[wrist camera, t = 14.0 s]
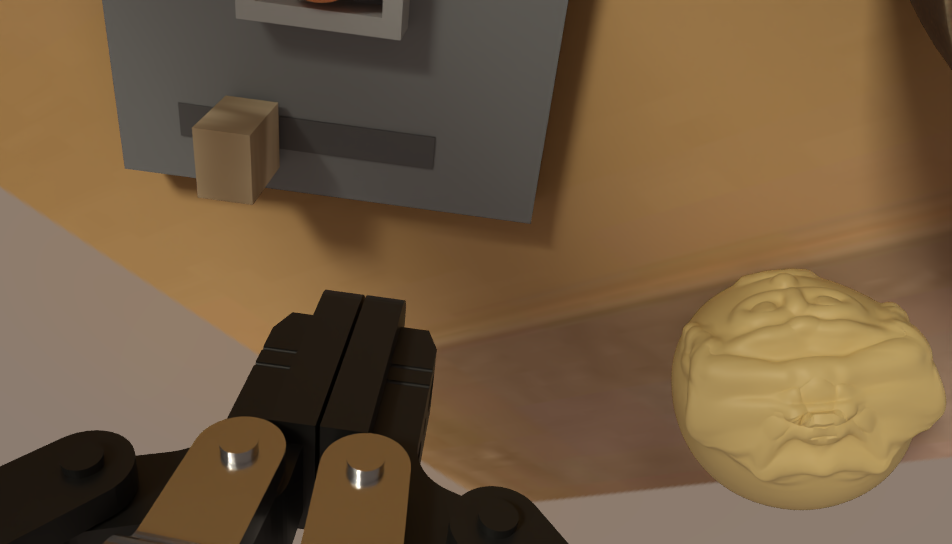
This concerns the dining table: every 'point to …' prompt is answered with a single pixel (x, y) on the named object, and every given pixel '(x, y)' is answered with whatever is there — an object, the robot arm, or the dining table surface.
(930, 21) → the plant pot
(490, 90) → the control panel
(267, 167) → the slide paddle
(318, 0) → the push button
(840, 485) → the sculpture
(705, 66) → the dining table surface
